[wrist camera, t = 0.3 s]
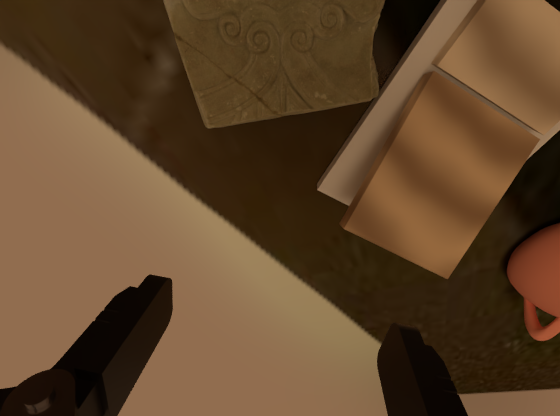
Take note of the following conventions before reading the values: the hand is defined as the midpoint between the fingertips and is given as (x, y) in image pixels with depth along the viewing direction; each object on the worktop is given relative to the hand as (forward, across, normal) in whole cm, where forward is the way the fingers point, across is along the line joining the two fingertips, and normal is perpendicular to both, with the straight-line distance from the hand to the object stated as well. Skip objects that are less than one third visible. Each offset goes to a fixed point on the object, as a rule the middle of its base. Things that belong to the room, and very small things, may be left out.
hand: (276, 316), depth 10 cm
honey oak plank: (+19, -13, 0) cm, 23 cm away
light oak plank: (+21, -16, -11) cm, 29 cm away
